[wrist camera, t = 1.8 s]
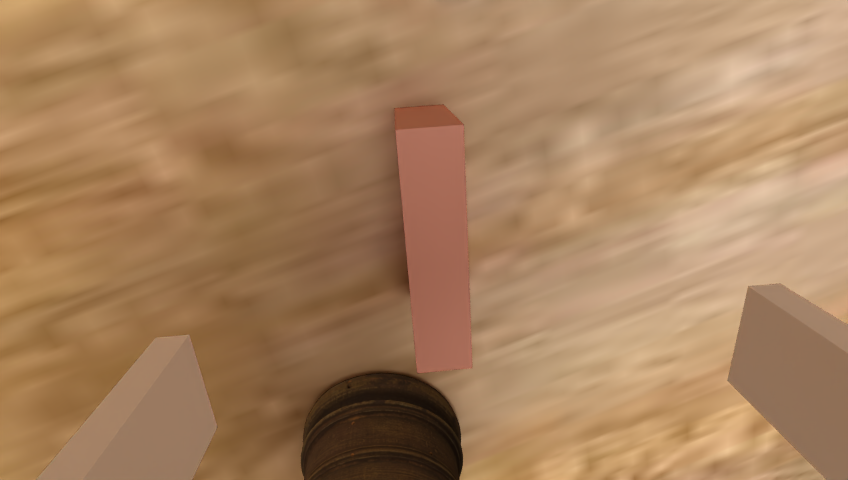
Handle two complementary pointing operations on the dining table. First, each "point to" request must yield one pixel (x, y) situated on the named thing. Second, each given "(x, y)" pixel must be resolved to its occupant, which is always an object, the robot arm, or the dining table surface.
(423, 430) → the container
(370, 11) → the dining table surface
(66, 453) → the robot arm
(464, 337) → the card box
